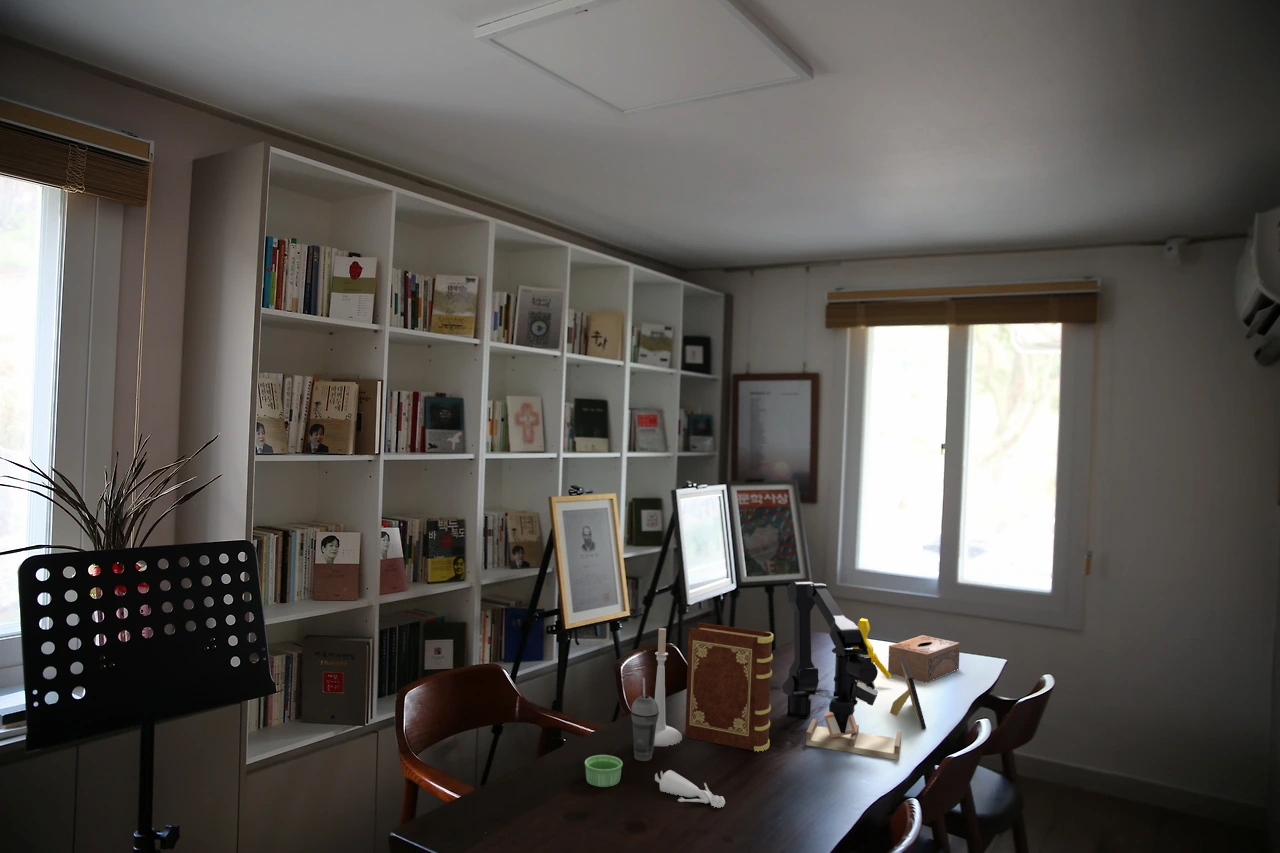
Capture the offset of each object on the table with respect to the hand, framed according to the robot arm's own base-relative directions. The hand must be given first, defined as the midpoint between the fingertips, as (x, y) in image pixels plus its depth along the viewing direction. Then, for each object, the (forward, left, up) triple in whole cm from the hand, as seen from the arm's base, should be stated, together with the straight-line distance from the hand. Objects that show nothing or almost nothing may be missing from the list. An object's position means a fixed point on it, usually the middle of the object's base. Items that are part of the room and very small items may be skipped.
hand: (843, 730), depth 229 cm
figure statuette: (0, +61, -4) cm, 61 cm away
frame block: (0, 0, -1) cm, 1 cm away
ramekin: (-50, -50, -4) cm, 71 cm away
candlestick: (-47, -18, -4) cm, 51 cm away
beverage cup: (-46, -33, -4) cm, 57 cm away
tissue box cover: (+19, +86, -4) cm, 88 cm away
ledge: (+3, 0, -4) cm, 4 cm away
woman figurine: (-29, -50, -4) cm, 58 cm away
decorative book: (-29, -12, -4) cm, 32 cm away
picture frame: (+15, +32, -4) cm, 35 cm away
